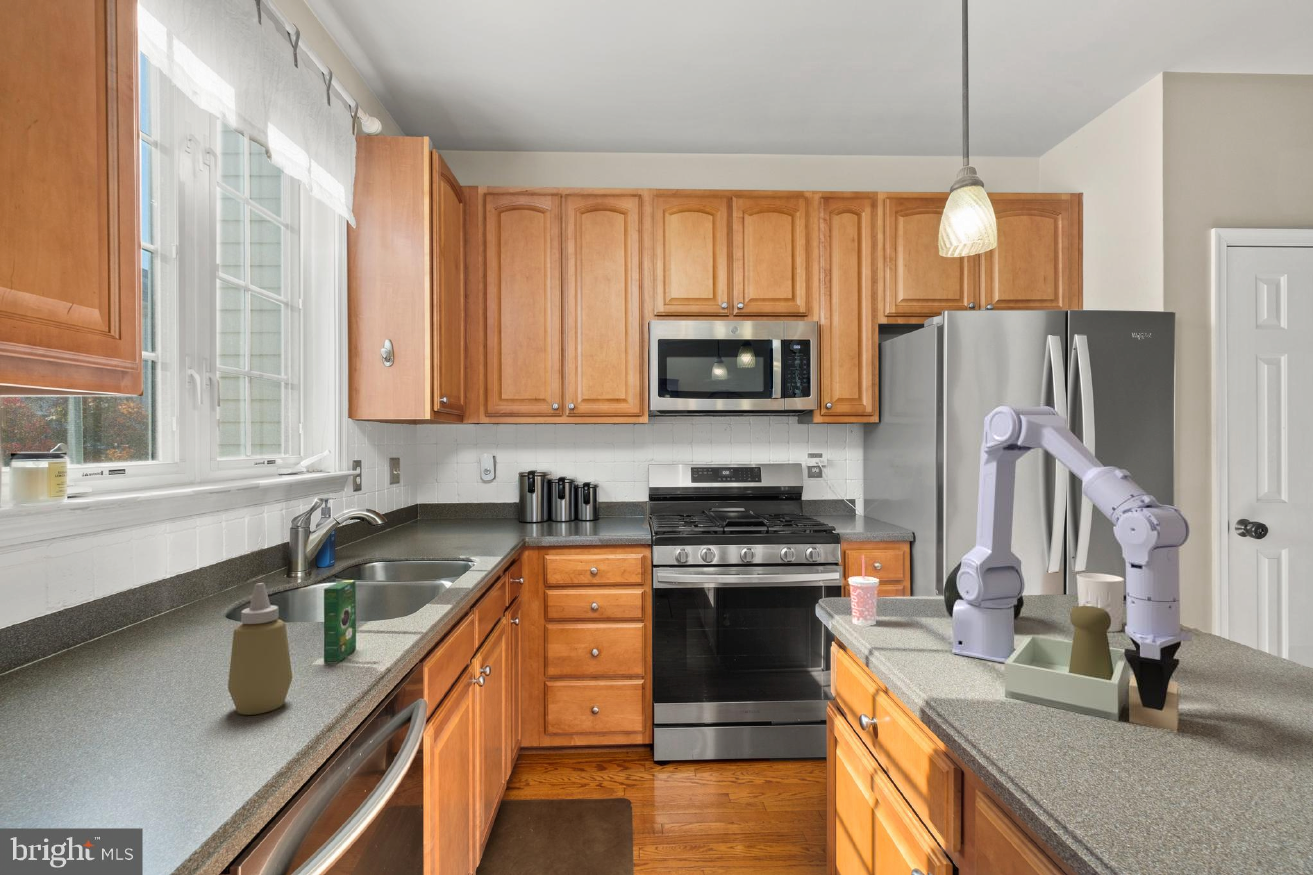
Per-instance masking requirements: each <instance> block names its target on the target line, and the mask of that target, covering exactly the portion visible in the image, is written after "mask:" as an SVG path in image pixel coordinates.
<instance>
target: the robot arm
mask: <svg viewBox="0 0 1313 875" xmlns="http://www.w3.org/2000/svg"><path fill="white" fill-rule="evenodd" d="M983 423H984V425H983V440H982V442H981V448H980V458H979V459H980V463H979V480H978V482H979V483H978V498H977V500H978V501H977V517H976V519H977V520H976V521H977V522H976V535H975V536H976V538H975V539H976V540H975V546H974V547H973V548H972V549H971V550H970V551H969V552H968V553H966V554H964V555H963V556H962V558H961V561H962V562H961V561H960V562H961V568H960V570H959V572H958V575H957V588H958V591H959V593H960V595H961V596H962V598H963V599H964V600H957V601H956V602H955V605H954V609H953V618H952V650H951V653H952V654H955V655H960V656H967V657H970V658H976V659H983V660H986V661H992V662H998V663H1004V664H1005V662H1006V661H1007V659H1008V658H1009V657H1010V656H1011V655H1012V654H1013V652H1014V651H1015V650H1016V649H1017V648H1015V620H1014V606H1013V605H1016V604H1017V599H1018V598H1019V597H1021V595H1022V596H1023V593H1024V592H1025V587H1026V586H1025V579H1024V576H1023V572H1022V560H1021V559H1020V557H1018V556H1017V555H1016V554H1015V553H1014V552H1013V551H1012V541H1013V540H1012V538H1013V521H1014V519H1013V518H1014V503H1015V502H1014V500H1015V487H1016V486H1015V483H1016V470H1017V469H1016V467H1017V466H1016V464H1017V463H1016V462H1017V461H1018V460H1019V459H1020V458H1022V457H1023V456H1025V455H1026V454H1027V453H1028V452H1030V451H1032V450H1034V449H1043V450H1045V451H1047V452H1048V453H1049V454H1050V455H1051V456H1053V458H1055V459H1056V460H1057V461H1058V462H1059V463H1061V464H1062V465H1063V466H1064V467H1065V468H1067V470H1069V471H1070V472H1071V473H1073V475H1075V476H1076V477H1077V478H1078V479H1079V480H1081V481H1082V486H1081V492H1082V494H1083V496H1085V497H1086V498H1087V499H1088V500H1089V501H1090V502H1091V503H1092V504H1093V505H1094V506H1095V507H1096V508H1097V509H1098V510H1099V511H1100V512H1101V513H1102V514H1103V515H1104V516H1105V517H1106V518H1107V519H1109V521H1110V522H1111V523H1112V524H1113V525H1114V526H1113V528H1112V529H1113V534H1114V537H1115V538H1116V541H1117V542H1118V543H1119V545H1120V546H1121V550H1122V558H1124V561H1125V586H1126V587H1125V588H1126V589H1125V592H1126V594H1125V596H1126V597H1125V598H1126V599H1125V600H1126V601H1125V602H1126V625H1125V627H1124V632H1125V634H1126V635H1128V636H1129V639H1130V641H1131V642H1132V645H1133V646H1134V649H1130V648H1125V649H1124V650H1125V651H1124V655H1125V658H1126V660H1127V661H1128V663H1129V668H1131V671H1132V672H1133V673H1132V674H1133V675H1134V676H1135V679H1136V683H1137V687H1138V691H1139V696H1140V700H1141V703H1142V705H1143V707H1146V708H1151V709H1156V710H1161V711H1162V710H1163V708H1164V705H1165V701H1166V695H1167V689H1168V685H1169V681H1171V678H1172V676H1173V674H1174V673H1175V671H1176V670H1177V668H1178V666H1179V664H1180V659H1179V658H1174V657H1175V655H1176V653H1177V652H1178V651H1179V649H1180V647H1181V646H1182V642H1192V636H1193V635H1192V633H1189V632H1185V631H1181V612H1180V611H1181V609H1180V608H1181V606H1180V605H1181V603H1180V602H1181V601H1180V599H1181V597H1180V596H1181V595H1180V554H1179V552H1180V551H1179V550H1180V549H1179V548H1180V547H1182V546H1183V545H1184V544H1186V542H1187V541H1188V539H1189V536H1190V531H1191V530H1190V524H1189V522H1188V519H1187V518H1186V517H1185V515H1184V514H1183V513H1182V512H1181V510H1180V509H1179V508H1177V507H1175V506H1172V505H1169V504H1168V505H1167V504H1161V503H1160V502H1158V501H1157V498H1155V497H1154V496H1153V495H1152V494H1148V493H1147V492H1146V491H1145V490H1143V489H1142V488H1141V486H1139V485H1138V484H1137V483H1136V482H1134V480H1133V479H1131V478H1130V477H1132V474H1131V473H1130V472H1129V471H1128V470H1126V469H1122V468H1121V469H1120V468H1119V467H1117V466H1105V465H1103V464H1102V462H1101V461H1100V460H1098V458H1097V457H1095V455H1094V454H1093V453H1092V452H1091V451H1090V450H1089V449H1088V448H1087V447H1086V445H1085V444H1083V443H1082V441H1081V440H1080V439H1079V438H1078V437H1077V436H1076V435H1075V434H1074V433H1073V432H1072V431H1071V430H1070V429H1069V427H1067V419H1066V418H1065V417H1064V416H1062V415H1061V414H1059V413H1058V411H1057V410H1056V409H1055V408H1052V407H1050V406H1048V405H1047V406H1045V405H1043V406H1038V407H1037V406H1007V405H1002V406H1001V405H1000V406H998V407H996V408H995V409H994V410H992V411H991V412H990V413H989V414H988V415H986V416H985V418H984V422H983Z"/></svg>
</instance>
